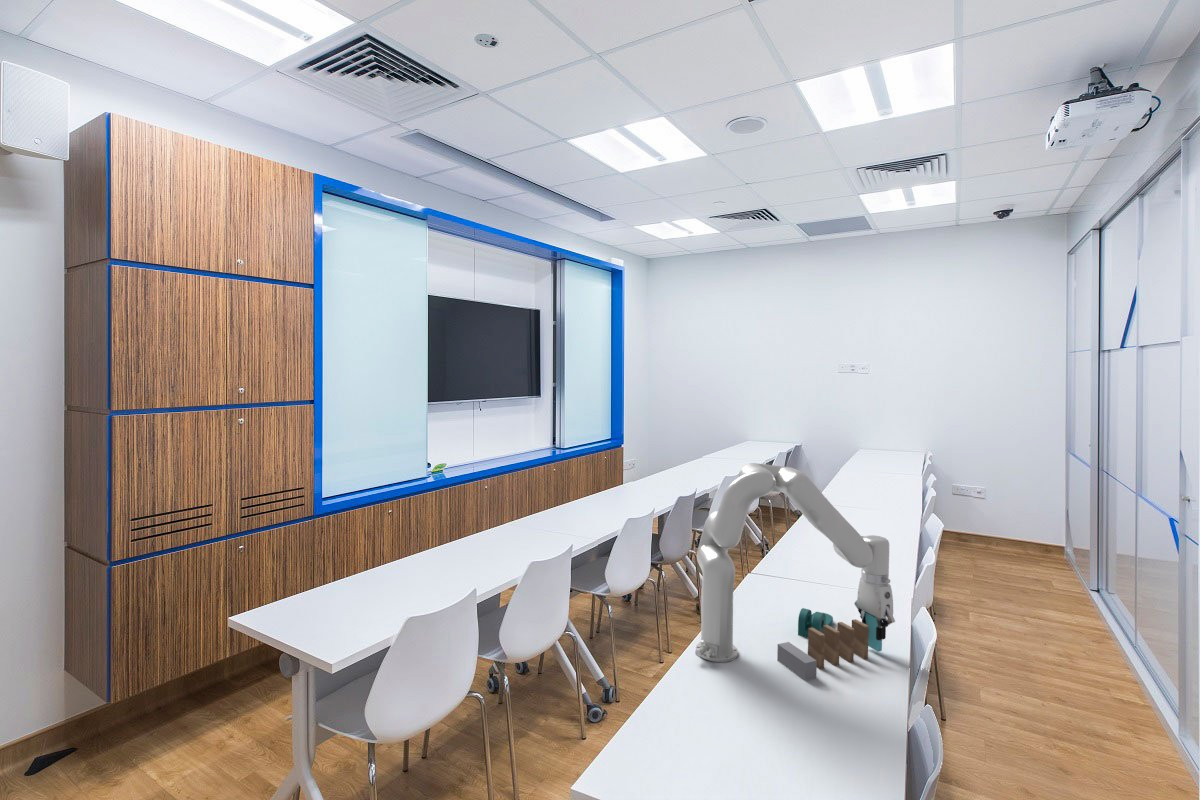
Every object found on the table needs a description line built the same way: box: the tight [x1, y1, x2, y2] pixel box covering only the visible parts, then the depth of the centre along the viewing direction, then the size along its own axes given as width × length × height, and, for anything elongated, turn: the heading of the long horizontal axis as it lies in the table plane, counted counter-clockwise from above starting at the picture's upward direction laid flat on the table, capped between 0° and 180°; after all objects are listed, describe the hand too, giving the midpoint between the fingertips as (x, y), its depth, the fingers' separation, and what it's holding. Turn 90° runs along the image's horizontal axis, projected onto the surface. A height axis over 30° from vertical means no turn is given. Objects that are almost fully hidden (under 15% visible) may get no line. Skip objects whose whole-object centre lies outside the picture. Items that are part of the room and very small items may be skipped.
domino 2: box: [823, 625, 840, 667], centre depth 171 cm, size 2×5×10 cm, turn 20°
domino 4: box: [851, 619, 869, 660], centre depth 175 cm, size 2×5×10 cm, turn 21°
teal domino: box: [865, 613, 883, 652], centre depth 177 cm, size 2×5×10 cm, turn 20°
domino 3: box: [836, 621, 855, 663], centre depth 173 cm, size 2×5×10 cm, turn 20°
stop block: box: [776, 641, 818, 681], centre depth 167 cm, size 4×12×5 cm, turn 20°
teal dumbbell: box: [797, 607, 834, 638], centre depth 193 cm, size 18×7×8 cm, turn 142°
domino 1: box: [807, 628, 825, 670], centre depth 169 cm, size 2×5×10 cm, turn 21°
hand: (873, 634), depth 177 cm, fingers closed on teal domino, 4 cm apart
